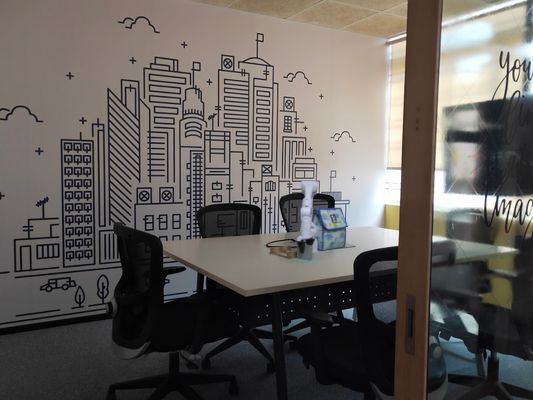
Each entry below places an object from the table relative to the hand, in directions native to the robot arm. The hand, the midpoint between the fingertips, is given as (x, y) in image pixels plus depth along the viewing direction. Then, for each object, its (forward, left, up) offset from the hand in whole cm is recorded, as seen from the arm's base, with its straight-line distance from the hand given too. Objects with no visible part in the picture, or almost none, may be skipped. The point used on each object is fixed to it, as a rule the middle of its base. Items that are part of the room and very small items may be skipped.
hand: (305, 252), depth 247 cm
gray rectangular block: (0, 0, -4) cm, 4 cm away
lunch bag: (-38, -18, -5) cm, 43 cm away
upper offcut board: (-5, -14, -4) cm, 16 cm away
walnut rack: (-1, -14, -4) cm, 15 cm away
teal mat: (0, 0, -4) cm, 4 cm away
